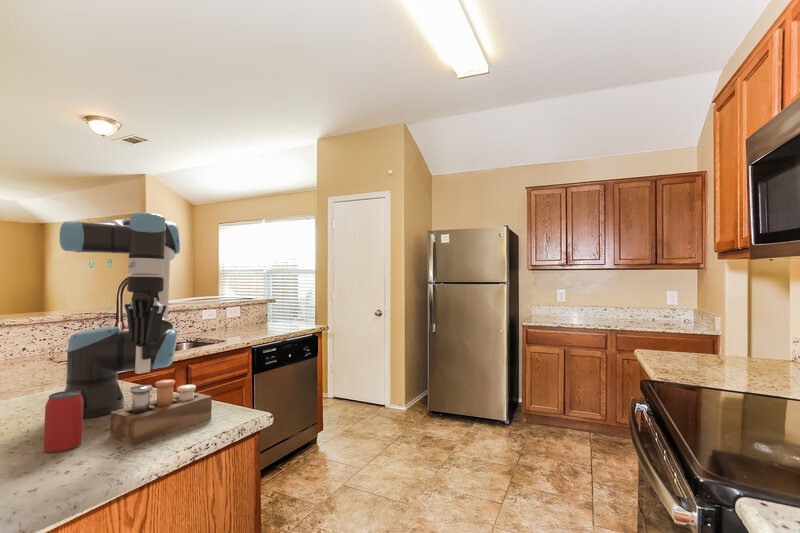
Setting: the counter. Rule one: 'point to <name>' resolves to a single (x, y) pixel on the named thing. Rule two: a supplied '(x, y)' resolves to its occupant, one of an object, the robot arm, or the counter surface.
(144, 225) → the robot arm
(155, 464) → the counter surface
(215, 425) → the counter surface
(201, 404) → the button block
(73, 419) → the beer can
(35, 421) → the counter surface
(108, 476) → the counter surface
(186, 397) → the plunger white
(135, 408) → the plunger grey
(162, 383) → the peach round knob
